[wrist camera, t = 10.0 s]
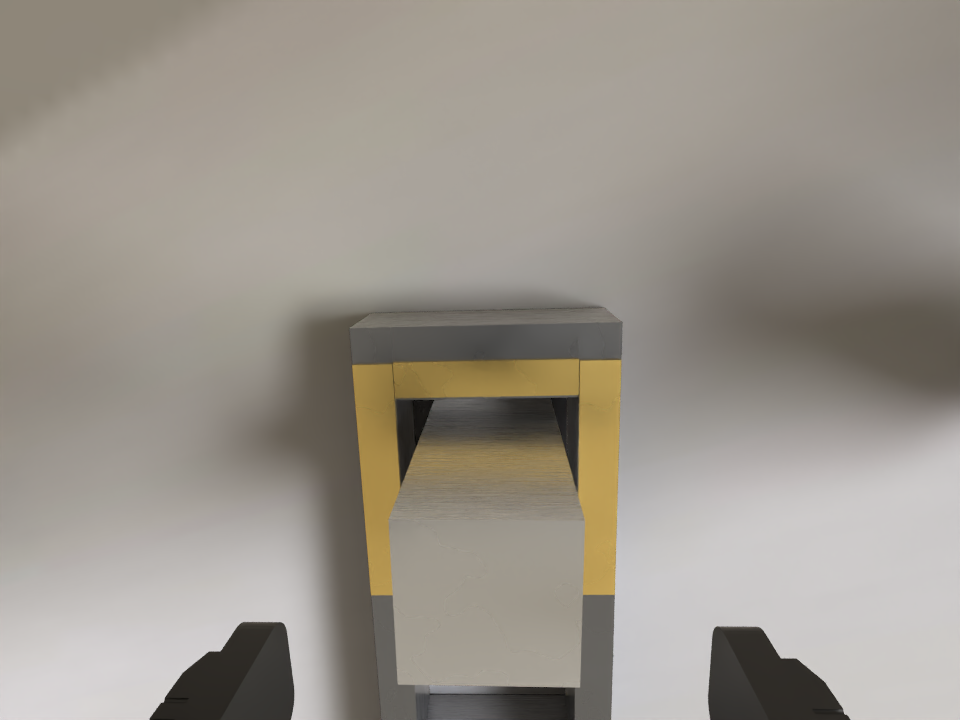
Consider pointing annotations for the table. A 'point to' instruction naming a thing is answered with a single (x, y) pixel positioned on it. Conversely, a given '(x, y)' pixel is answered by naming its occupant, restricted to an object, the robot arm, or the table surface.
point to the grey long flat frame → (493, 375)
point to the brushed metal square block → (488, 550)
